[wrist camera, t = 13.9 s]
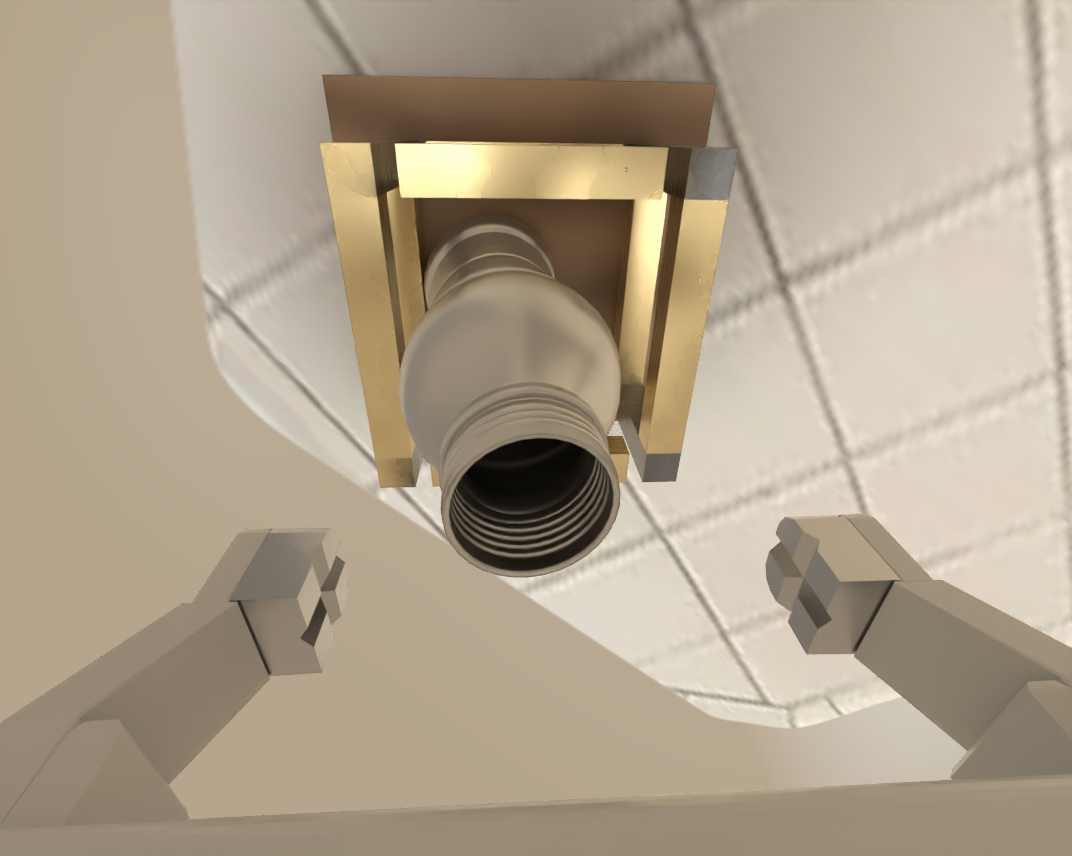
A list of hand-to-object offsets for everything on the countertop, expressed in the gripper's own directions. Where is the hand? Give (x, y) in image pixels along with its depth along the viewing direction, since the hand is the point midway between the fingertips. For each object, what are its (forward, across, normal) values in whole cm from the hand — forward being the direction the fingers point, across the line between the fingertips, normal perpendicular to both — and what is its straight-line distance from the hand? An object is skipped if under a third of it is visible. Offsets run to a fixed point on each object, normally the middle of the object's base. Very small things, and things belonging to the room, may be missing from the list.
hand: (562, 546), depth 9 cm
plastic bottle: (+21, +2, 0) cm, 21 cm away
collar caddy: (+21, 0, 0) cm, 21 cm away
